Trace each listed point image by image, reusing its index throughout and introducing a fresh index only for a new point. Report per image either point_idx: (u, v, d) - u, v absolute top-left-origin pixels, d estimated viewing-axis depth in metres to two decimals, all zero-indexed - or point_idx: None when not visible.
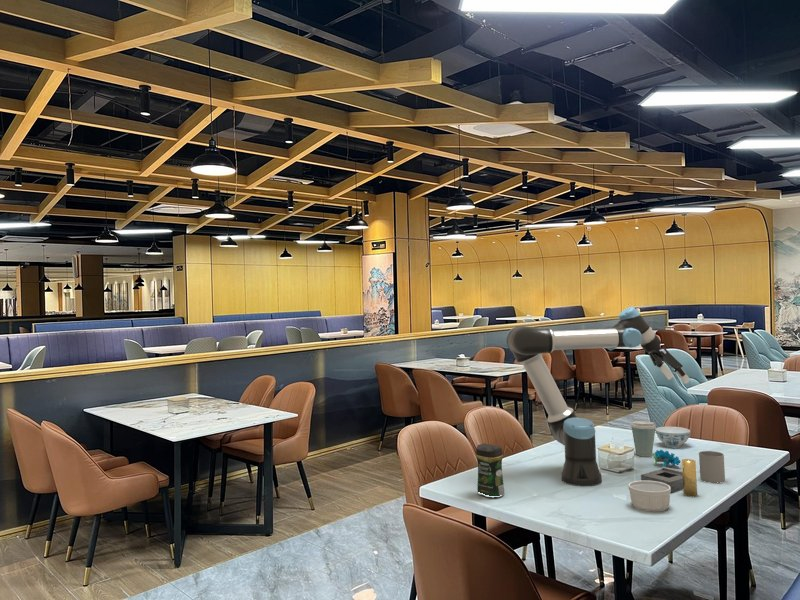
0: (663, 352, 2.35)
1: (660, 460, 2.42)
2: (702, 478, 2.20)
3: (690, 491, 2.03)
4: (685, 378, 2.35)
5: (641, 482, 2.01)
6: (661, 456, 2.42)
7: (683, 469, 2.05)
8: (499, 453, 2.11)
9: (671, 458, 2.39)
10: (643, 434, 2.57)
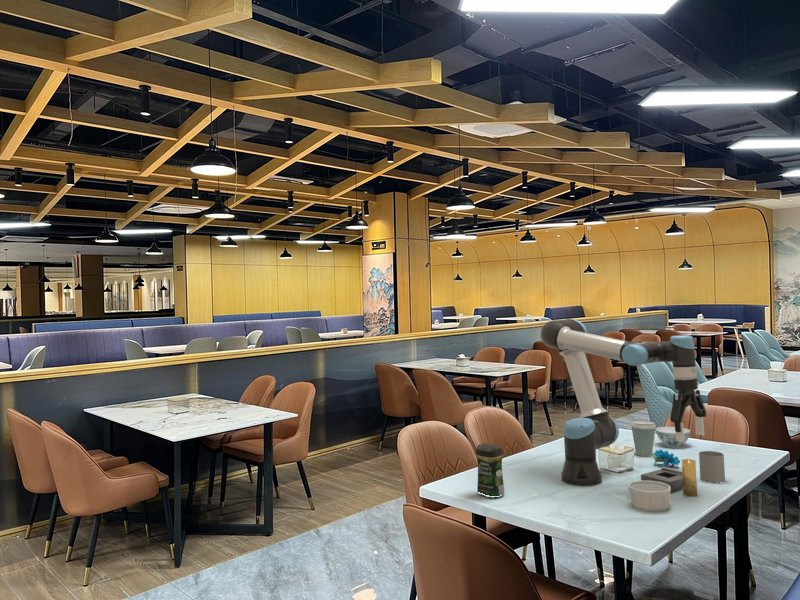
0: (675, 396, 2.04)
1: (660, 460, 2.42)
2: (702, 478, 2.20)
3: (690, 491, 2.03)
4: (679, 436, 2.03)
5: (641, 482, 2.01)
6: (661, 456, 2.42)
7: (683, 469, 2.05)
8: (499, 453, 2.11)
9: (671, 458, 2.39)
10: (643, 434, 2.57)
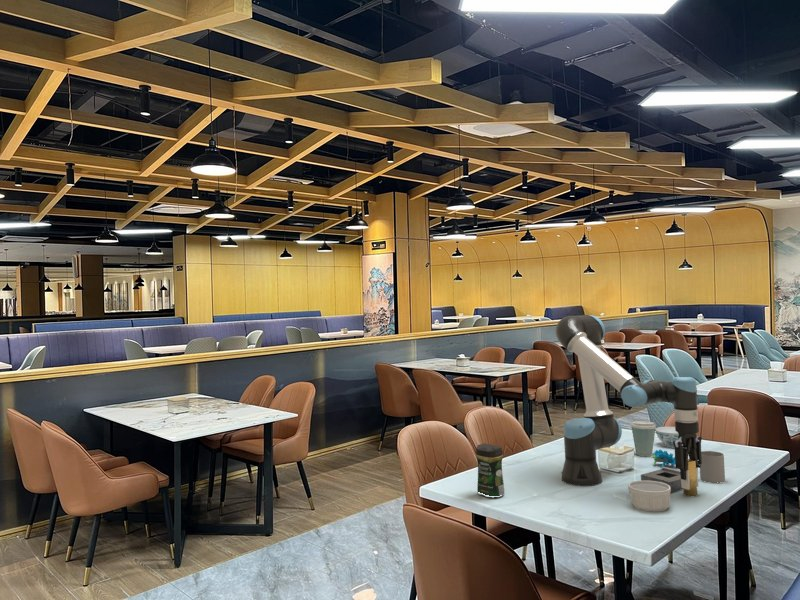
0: (675, 444, 2.02)
1: (659, 460, 2.42)
2: (702, 478, 2.20)
3: (690, 491, 2.03)
4: (684, 483, 2.04)
5: (641, 482, 2.01)
6: (660, 456, 2.42)
7: None
8: (499, 453, 2.11)
9: (670, 458, 2.39)
10: (643, 434, 2.57)
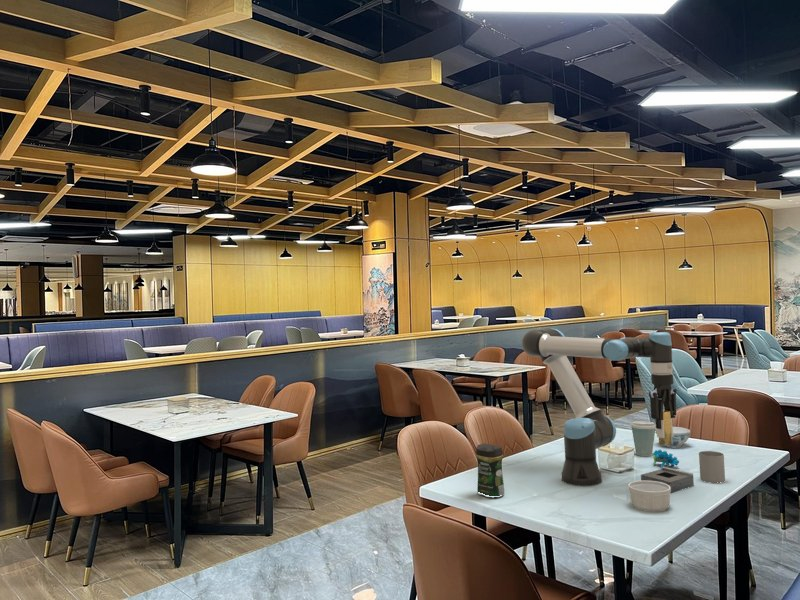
0: (650, 395, 2.14)
1: (659, 460, 2.42)
2: (702, 478, 2.20)
3: (665, 440, 2.14)
4: (659, 432, 2.15)
5: (641, 482, 2.01)
6: (660, 456, 2.42)
7: None
8: (499, 453, 2.11)
9: (670, 458, 2.39)
10: (643, 434, 2.57)
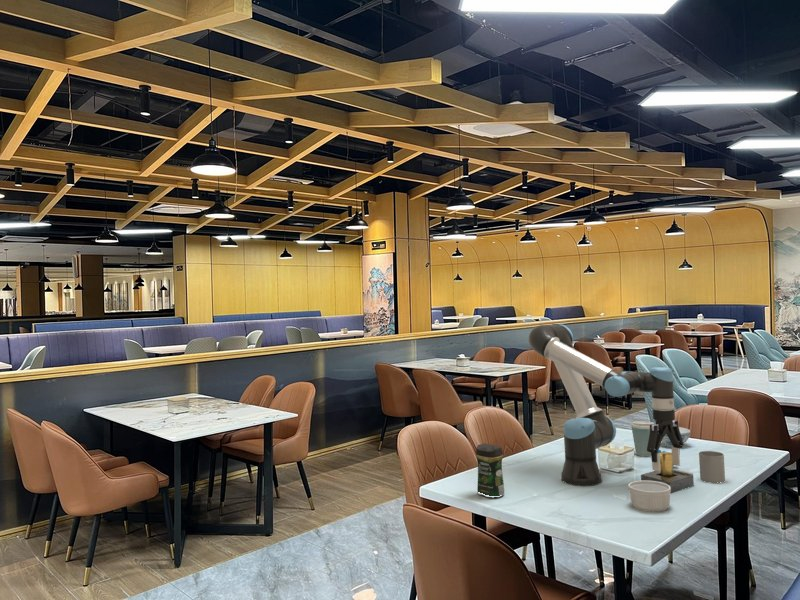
0: (651, 427, 2.13)
1: None
2: (702, 478, 2.20)
3: None
4: (655, 466, 2.13)
5: (641, 482, 2.01)
6: None
7: (660, 461, 2.16)
8: (499, 453, 2.11)
9: None
10: (643, 434, 2.57)
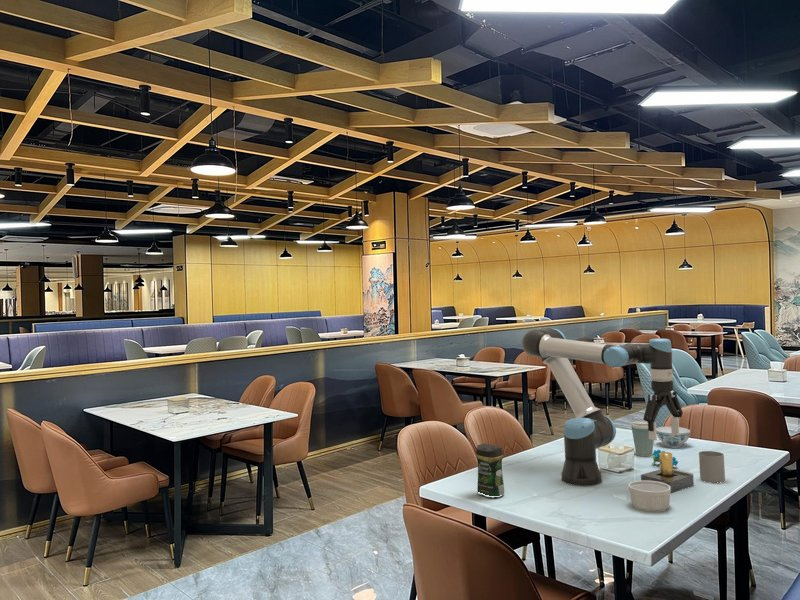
0: (649, 397, 2.14)
1: (658, 460, 2.42)
2: (702, 478, 2.20)
3: None
4: (651, 434, 2.13)
5: (641, 482, 2.01)
6: None
7: (660, 461, 2.16)
8: (499, 453, 2.11)
9: None
10: (643, 434, 2.57)
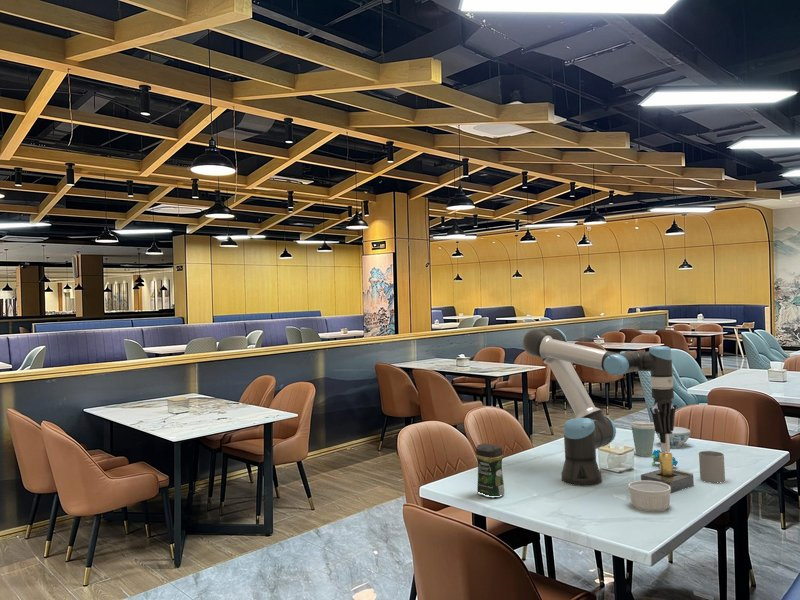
0: (652, 411, 2.14)
1: (658, 460, 2.42)
2: (702, 478, 2.20)
3: None
4: (664, 446, 2.16)
5: (641, 482, 2.01)
6: None
7: (660, 461, 2.16)
8: (499, 453, 2.11)
9: None
10: (643, 434, 2.57)
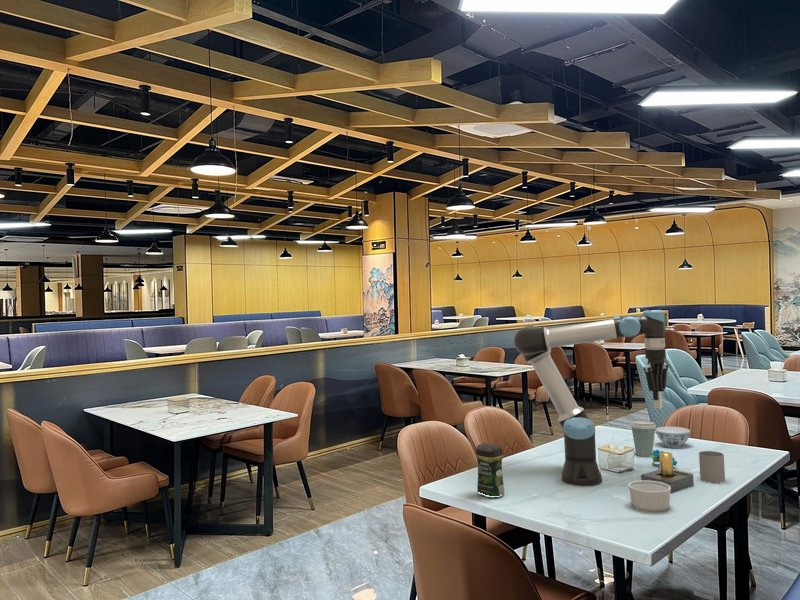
0: (645, 370, 2.28)
1: (657, 460, 2.42)
2: (702, 478, 2.20)
3: None
4: (656, 403, 2.30)
5: (641, 482, 2.01)
6: (658, 456, 2.42)
7: (660, 461, 2.16)
8: (499, 453, 2.11)
9: None
10: (643, 434, 2.57)
